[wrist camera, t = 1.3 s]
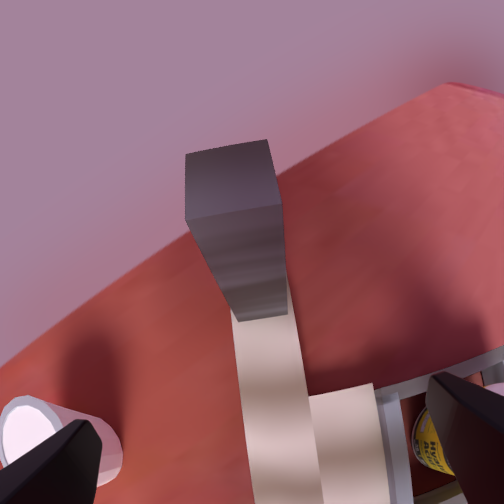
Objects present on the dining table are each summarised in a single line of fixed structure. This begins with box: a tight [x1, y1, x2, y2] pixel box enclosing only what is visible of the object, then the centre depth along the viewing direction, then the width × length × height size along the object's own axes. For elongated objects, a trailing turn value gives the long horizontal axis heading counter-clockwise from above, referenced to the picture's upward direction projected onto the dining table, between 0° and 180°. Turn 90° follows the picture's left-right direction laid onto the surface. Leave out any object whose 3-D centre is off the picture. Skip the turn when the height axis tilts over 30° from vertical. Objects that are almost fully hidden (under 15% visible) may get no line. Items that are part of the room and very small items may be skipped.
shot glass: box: [0, 395, 123, 487], centre depth 15 cm, size 7×7×7 cm
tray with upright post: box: [185, 139, 504, 504], centre depth 13 cm, size 19×18×13 cm
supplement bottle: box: [411, 383, 504, 475], centre depth 12 cm, size 5×5×10 cm
